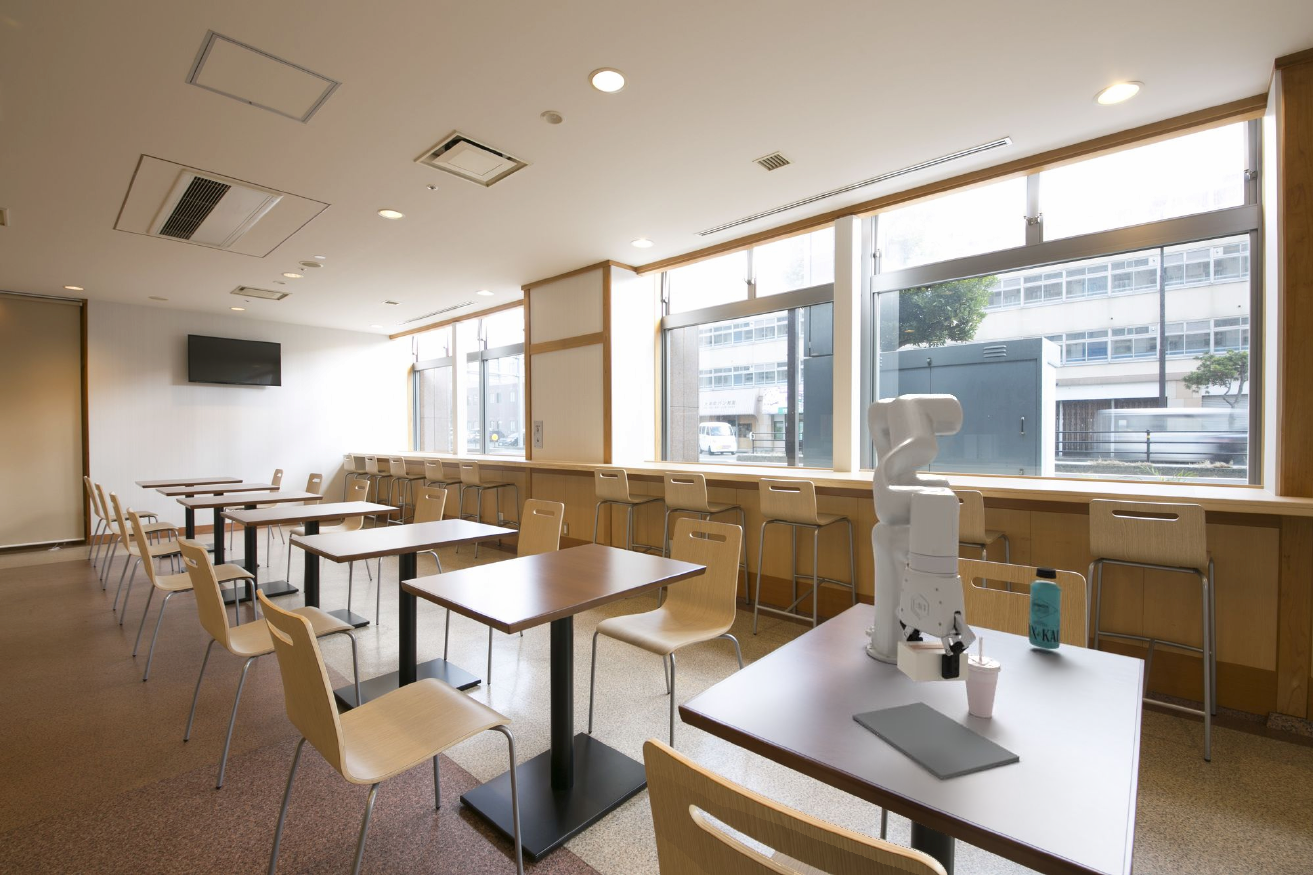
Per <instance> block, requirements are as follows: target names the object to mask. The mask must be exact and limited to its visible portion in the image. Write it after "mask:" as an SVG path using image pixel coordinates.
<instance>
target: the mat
mask: <svg viewBox="0 0 1313 875" xmlns="http://www.w3.org/2000/svg"><path fill="white" fill-rule="evenodd" d="M852 719H853V720H854V719H855V720H854V721H856V720H857V721H859V722H858V723H859V724H860V723H861V724H860V725H862V724H863V725H864V726H863V725H862V726H863V727H864V728H866V727H867V728H866V729H868V730H869V729H870V730H871V732H872V731H873V732H875V733H876V734H878V735H877V737H879V736H880V737H879V738H881V739H882V738H883V739H884V740H883V739H882V740H883V741H885V740H886V741H887V742H886V741H885V742H886V743H887V744H889V745H891V746H892V747H893V748H895V749H896V750H898V751H900V752H901V753H902V754H903V755H905V756H906V757H908V758H910V759H911V760H913V761H914V762H916V763H917V764H918V765H920V766H921V765H922V766H921V767H923V768H924V769H926V770H927V771H929V772H930V773H931V774H933V775H934V774H935V775H934V776H935V777H937V776H938V777H937V778H939V779H940V778H941V779H940V780H942V779H943V780H945V779H944V778H947V779H949V778H954V776H955V777H959V776H962V775H967V774H970V773H974V772H978V771H983V770H986V769H990V768H993V767H994V768H995V767H999V766H1003V765H1005V764H1010V763H1014V762H1018V761H1020V755H1017V754H1015V753H1013V752H1012V751H1010V750H1008V749H1007V748H1005V747H1003V746H1001V745H999V743H998V744H997V743H996V742H993V741H992V740H990V739H989V738H987V737H985V736H984V735H982V734H979V733H977V732H976V731H974V730H972V729H970V728H969V727H967V726H965V725H964V724H962V723H960V722H958V721H957V720H954V719H953V718H951V717H949V716H947V715H945V713H942V712H940V711H939V710H937V709H934V708H933V707H931V706H930V705H928V704H926V703H924V702H923V701H922V702H921V701H920V702H915V703H910V704H905V705H899V706H893V707H888V708H883V709H877V710H873V711H866V712H862V713H856V714H852ZM857 721H856V722H857ZM870 730H869V731H870ZM873 732H872V733H873ZM875 733H874V734H875ZM876 734H875V735H876Z"/></svg>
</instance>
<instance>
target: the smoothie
mask: <svg viewBox="0 0 1313 875" xmlns="http://www.w3.org/2000/svg"><path fill="white" fill-rule="evenodd" d="M1001 670H1002V668H1001V663H1000V662H999V661H998V660H996V659H994V658H991V657H989V656H983V636H982V635H981V636H980V635H979V637H978V655H977V654H968V680H966V681H965V689H966V695H967V697H966V698H967V706H968V712H969V713H970V714H972V716H975V717H977V718H983V719H988V718H991V717H992V716H993V714H992V713H993V708H994V704H995V703H994V702H995V696H996V690H997V684H998V679H999V678H998V677H999V673H1000V672H1001Z"/></svg>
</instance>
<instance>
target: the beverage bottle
mask: <svg viewBox="0 0 1313 875" xmlns="http://www.w3.org/2000/svg"><path fill="white" fill-rule="evenodd" d="M1035 576H1036V577H1038V578H1041V579H1048V580H1038V579H1037V580H1035V581H1033V582H1032V583H1031V584H1030V585H1029V586H1030V596H1029V597H1030V598H1029V599H1030V600H1029V601H1030V602H1029V615H1028V618H1029V619H1028V637H1027V638H1028V641H1029V644H1030V645H1033V646H1035V647H1038V648H1042V649H1047V650H1056V649H1059V648H1060V645H1061V641H1062V640H1061V638H1062V636H1061V635H1062V633H1061V630H1062V628H1061V622H1062V620H1061V619H1062V618H1061V615H1062V613H1061V603H1062V602H1061V601H1062V600H1061V598H1062V588H1061V587H1060V586H1059V585H1058V584H1057V583H1056V582H1052V581H1049V580H1056V579H1057V570H1056V569H1055V568H1050V567H1042V566H1041V567H1039V566H1038V567H1036V572H1035Z"/></svg>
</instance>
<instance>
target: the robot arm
mask: <svg viewBox="0 0 1313 875" xmlns="http://www.w3.org/2000/svg"><path fill="white" fill-rule="evenodd" d="M962 408H963V407H962V404H961V403H960V401H959V400H958V398H956V397H955V396H953V395H952V394H945V393H944V394H943V393H941V394H940V393H938V394H937V393H933V394H929V393H928V394H927V393H926V394H925V393H924V394H923V393H922V394H921V393H919V394H918V393H917V394H914V393H913V394H912V393H911V394H904V395H899V396H897V397H895V398H894V397H893V398H882V399H877V400H874V401H872V402H871V404H870V405H869V406H868V409H867V427H868V431H869V435H870V437H871V439H872V444H873V445H874V448H875V451H876V456H877V457H876V458H877V465H876V467H875V470H874V472H873V477H872V493H873V503H874V504H873V505H874V511H875V515H876V518H877V520H879V521H878V522H877V523H876V524H874V526H873V527H872V530H871V545H872V551H873V560H874V561H873V562H874V612H873V613H874V616H873V617H874V619H873V620H874V621H873V622H874V623H873V624H874V625H873V626H871V627H869V629H867V630H865V635H866V636H868V637H869V638H871V641H870V643H869V644H867V645H866V652H867V654H868V656H870V657H873V659H876V660H878V661H881V662H884V663H888V664H895V665H897V657H898V642H911V641H924V637H922V636H921V635H922V633H925V634H926V635H929V636H933V637H935V638H939V639H940V641H942V644H943V647H944V650H945V653H944V654H942V678H944V679H951V678H958V677H959V668H960V654H963V652H964V651H965V652H966V650H967V649H969V647H970V646H971V645H972V644H973V643H974V642H975V641H976V640H977V636H976V635H975V633H974V632H973V630H972V629H971V627H970V626H969V625H968V624H967V622H966V607H965V597H964V589H963V582H962V579H961V575H959V544H960V543H959V542H960V539H959V536H960V533H959V531H960V530H959V528H960V512H961V504H960V499H959V497H958V496H957V494H956V493H955V492H954V491H953V490H952V488H951V484H950V482H949V480H947V478H945V477H944V476H941V475H937V474H920V473H918V472H917V470H920V469H923V468H924V467H927V466H928V465H931V463H932V462H934V461H935V460H936V458H937V456H938V454H939V444H938V442H937V437H936V436H953V435H955V434H957V433H958V432H960V430H961V428H962V425H963V421H964V417H963V416H964V413H963V409H962ZM907 564H909V566H908V565H907ZM950 639H951V640H950ZM950 641H951V642H950ZM951 643H952V644H953V645H952V646H951Z"/></svg>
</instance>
